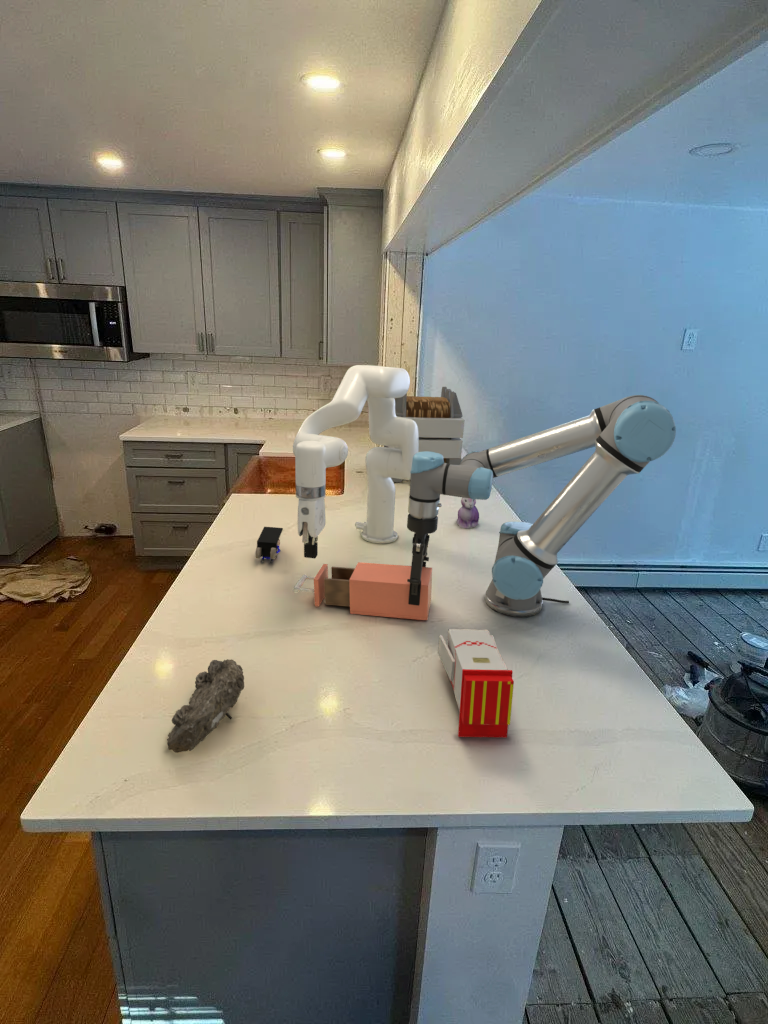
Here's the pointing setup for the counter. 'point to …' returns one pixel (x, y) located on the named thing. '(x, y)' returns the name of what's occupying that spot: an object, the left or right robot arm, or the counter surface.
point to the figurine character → (268, 543)
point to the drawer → (329, 586)
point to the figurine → (468, 513)
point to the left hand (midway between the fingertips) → (310, 556)
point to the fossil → (206, 705)
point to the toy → (478, 682)
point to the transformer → (435, 424)
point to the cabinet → (388, 591)
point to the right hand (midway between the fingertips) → (416, 593)
